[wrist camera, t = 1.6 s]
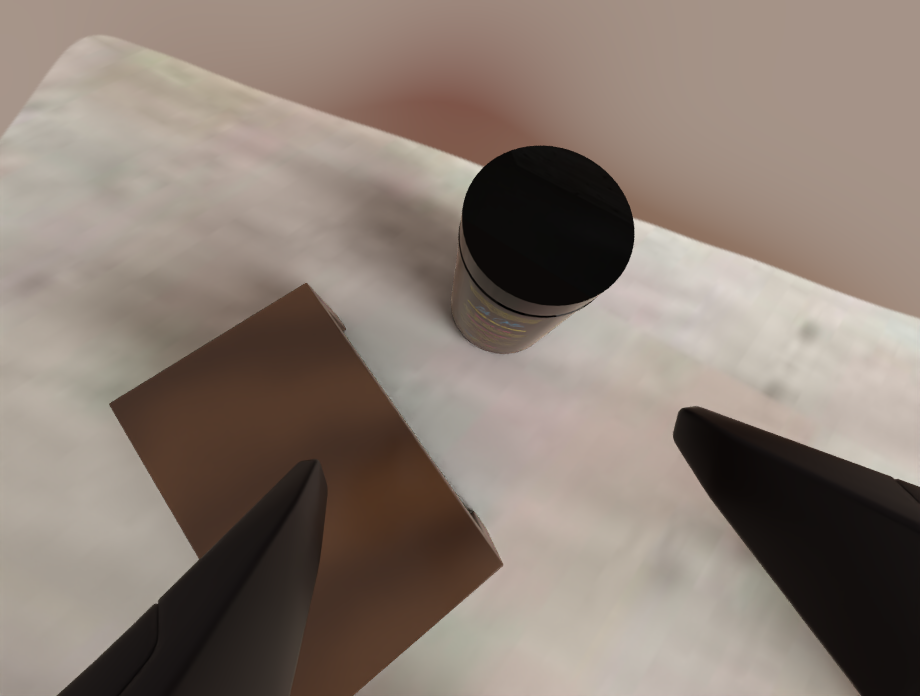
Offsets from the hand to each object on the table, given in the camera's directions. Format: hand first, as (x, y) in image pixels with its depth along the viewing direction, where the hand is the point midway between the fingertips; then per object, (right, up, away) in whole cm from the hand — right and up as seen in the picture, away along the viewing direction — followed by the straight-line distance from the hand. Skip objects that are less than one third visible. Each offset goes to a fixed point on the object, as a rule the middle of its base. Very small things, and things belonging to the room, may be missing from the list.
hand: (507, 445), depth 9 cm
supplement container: (+1, +5, +15) cm, 16 cm away
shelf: (-8, -5, +12) cm, 16 cm away
